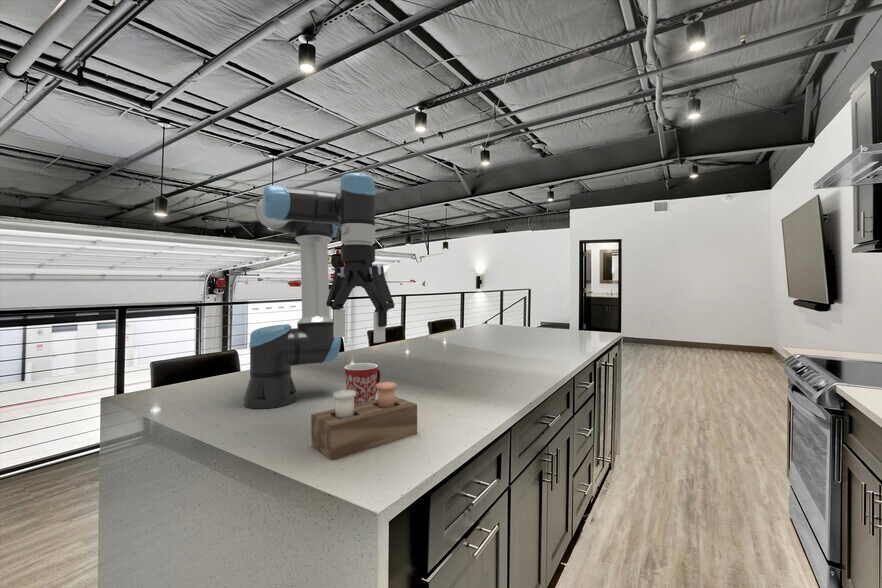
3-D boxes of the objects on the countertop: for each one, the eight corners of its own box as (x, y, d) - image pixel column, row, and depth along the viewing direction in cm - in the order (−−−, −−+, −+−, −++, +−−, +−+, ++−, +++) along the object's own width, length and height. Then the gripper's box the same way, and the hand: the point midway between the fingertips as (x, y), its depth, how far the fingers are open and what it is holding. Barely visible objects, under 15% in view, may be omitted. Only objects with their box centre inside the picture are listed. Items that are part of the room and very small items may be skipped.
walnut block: (311, 445, 87) (311, 414, 86) (393, 422, 101) (393, 395, 101) (332, 460, 79) (332, 425, 79) (417, 433, 94) (417, 404, 94)
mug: (363, 422, 102) (363, 370, 102) (337, 416, 106) (337, 367, 106) (392, 408, 113) (391, 362, 113) (367, 404, 117) (367, 359, 117)
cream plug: (329, 422, 87) (329, 392, 87) (349, 417, 90) (349, 388, 90) (340, 427, 83) (339, 396, 83) (359, 422, 86) (359, 392, 86)
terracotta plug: (372, 411, 94) (372, 384, 94) (389, 407, 97) (388, 381, 97) (383, 416, 90) (383, 388, 90) (400, 412, 94) (400, 384, 94)
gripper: (310, 247, 92) (311, 336, 92) (385, 239, 77) (385, 346, 77) (337, 249, 98) (337, 333, 98) (410, 242, 83) (410, 342, 83)
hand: (358, 339), depth 88 cm, fingers open, 13 cm apart
